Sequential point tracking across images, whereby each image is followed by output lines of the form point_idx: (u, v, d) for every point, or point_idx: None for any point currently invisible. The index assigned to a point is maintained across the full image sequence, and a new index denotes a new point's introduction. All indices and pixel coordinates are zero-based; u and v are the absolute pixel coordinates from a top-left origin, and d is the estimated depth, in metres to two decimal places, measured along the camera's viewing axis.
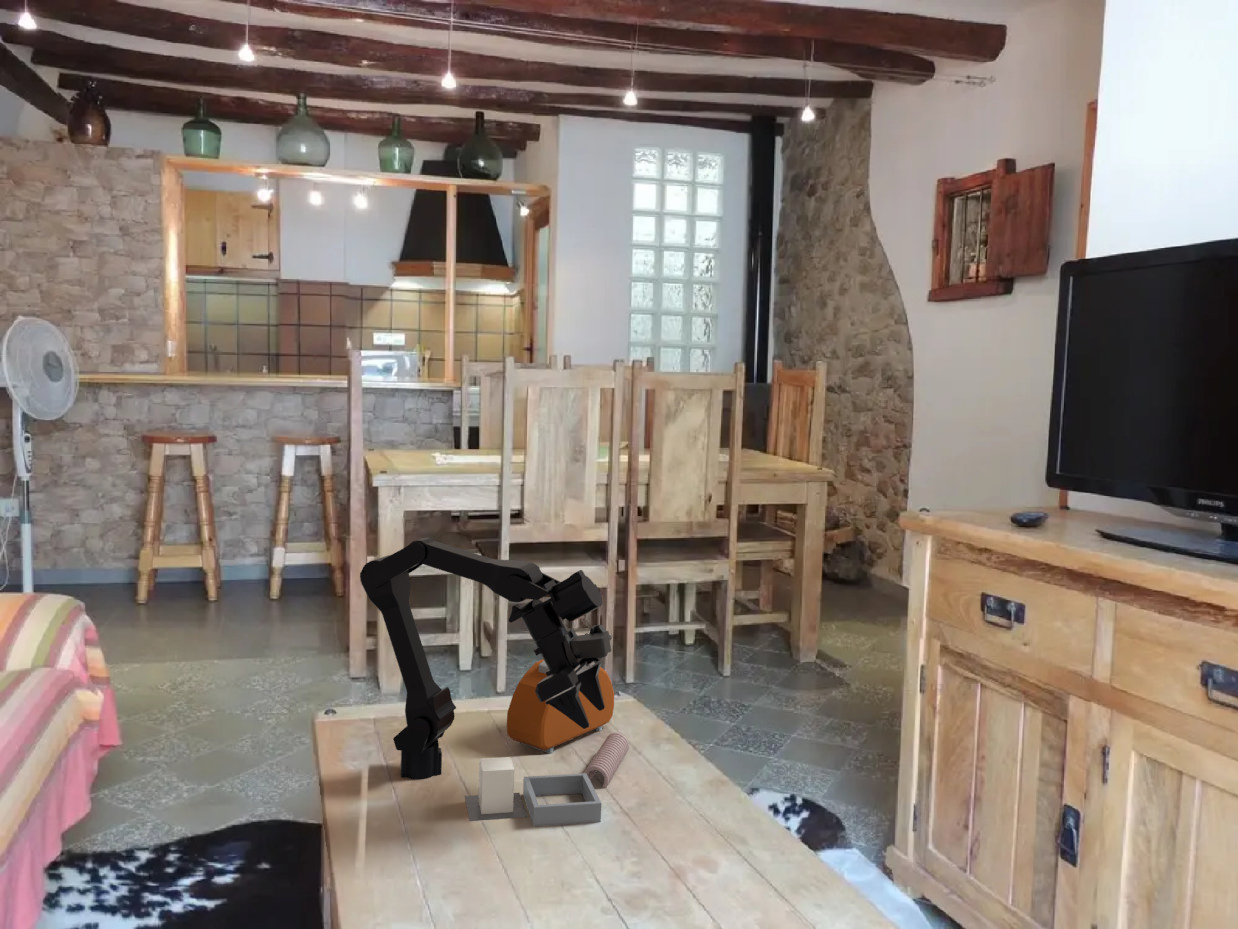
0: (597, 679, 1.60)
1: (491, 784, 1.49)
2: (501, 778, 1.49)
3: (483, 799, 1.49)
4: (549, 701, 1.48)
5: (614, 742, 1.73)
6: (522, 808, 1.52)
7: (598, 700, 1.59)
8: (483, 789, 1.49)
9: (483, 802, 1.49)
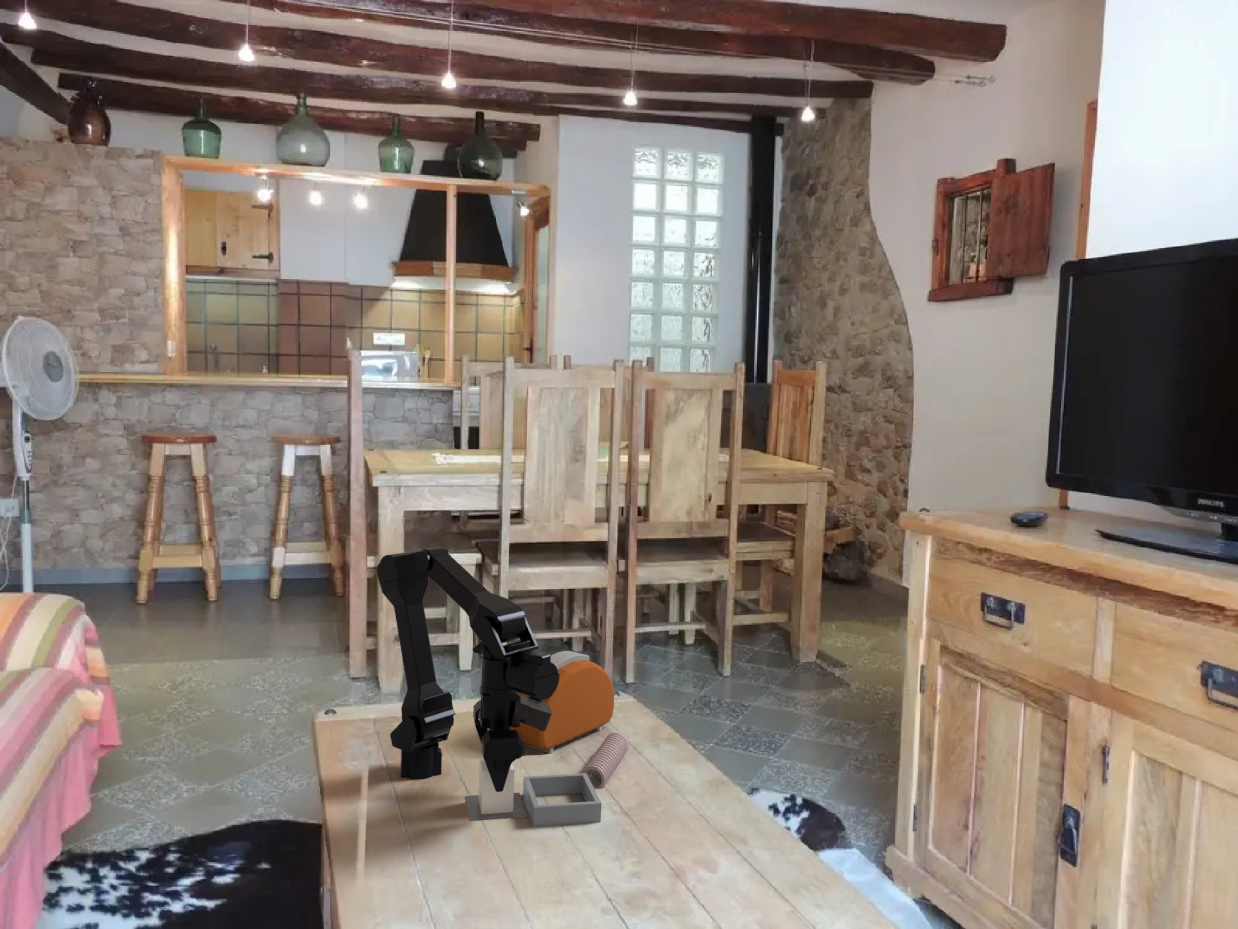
0: None
1: (491, 784, 1.49)
2: None
3: (483, 799, 1.49)
4: (490, 758, 1.43)
5: (613, 742, 1.73)
6: (522, 808, 1.52)
7: None
8: (483, 789, 1.49)
9: (483, 802, 1.49)
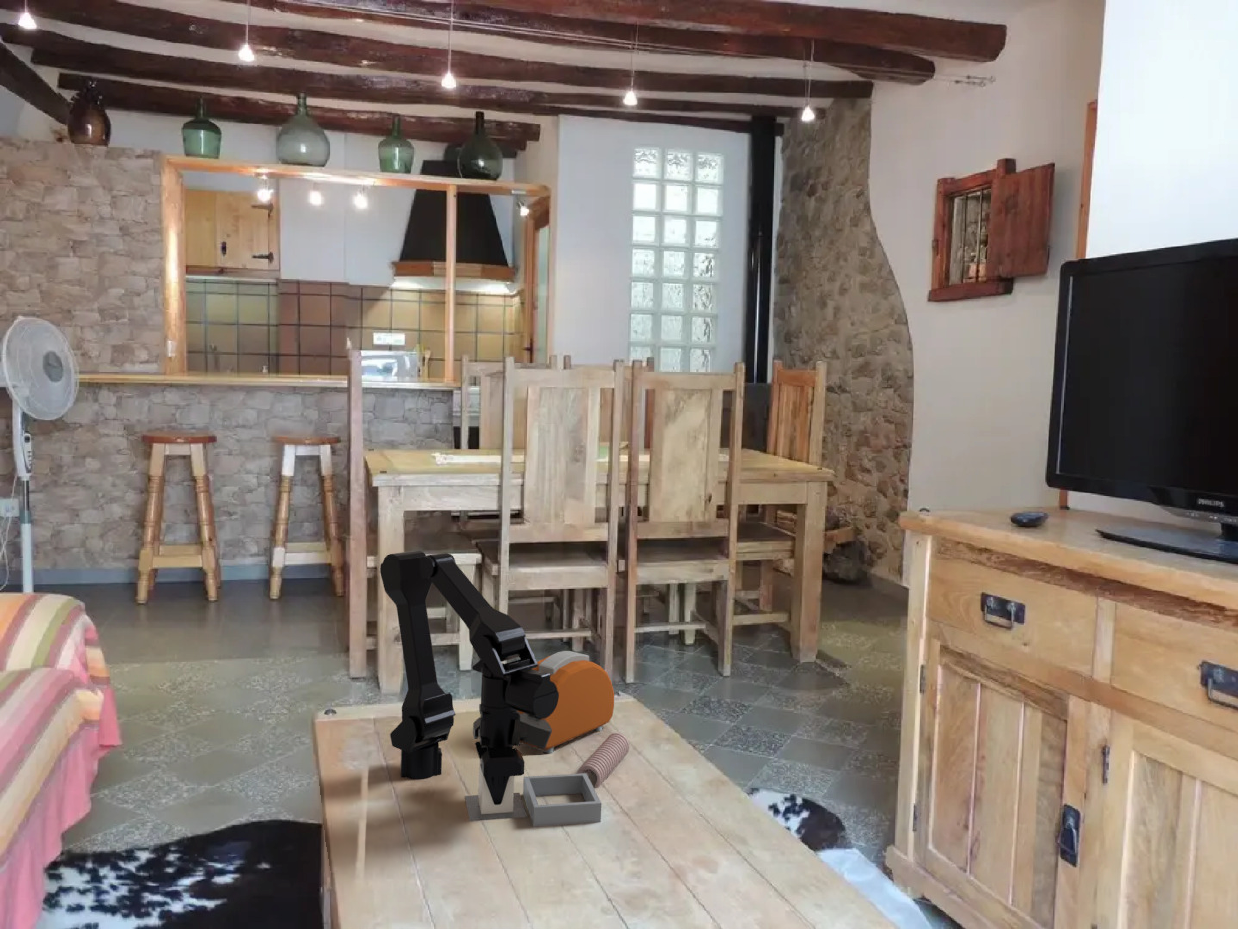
0: None
1: None
2: None
3: (483, 799, 1.49)
4: None
5: (613, 742, 1.73)
6: (522, 808, 1.52)
7: None
8: (483, 789, 1.49)
9: (483, 802, 1.49)
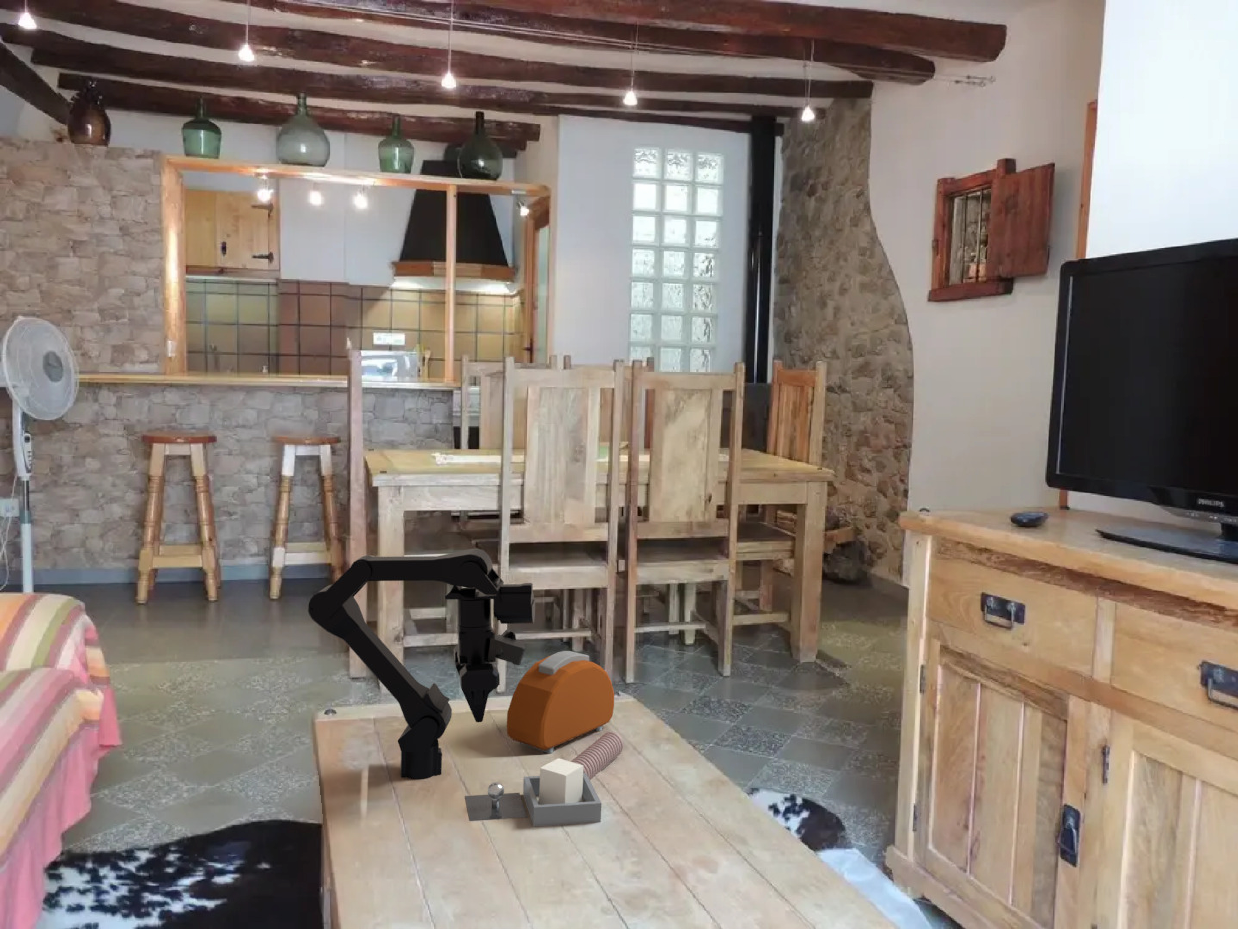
0: None
1: (570, 786, 1.50)
2: (576, 777, 1.51)
3: None
4: (467, 689, 1.54)
5: (605, 741, 1.74)
6: (522, 808, 1.52)
7: None
8: (566, 793, 1.49)
9: None
